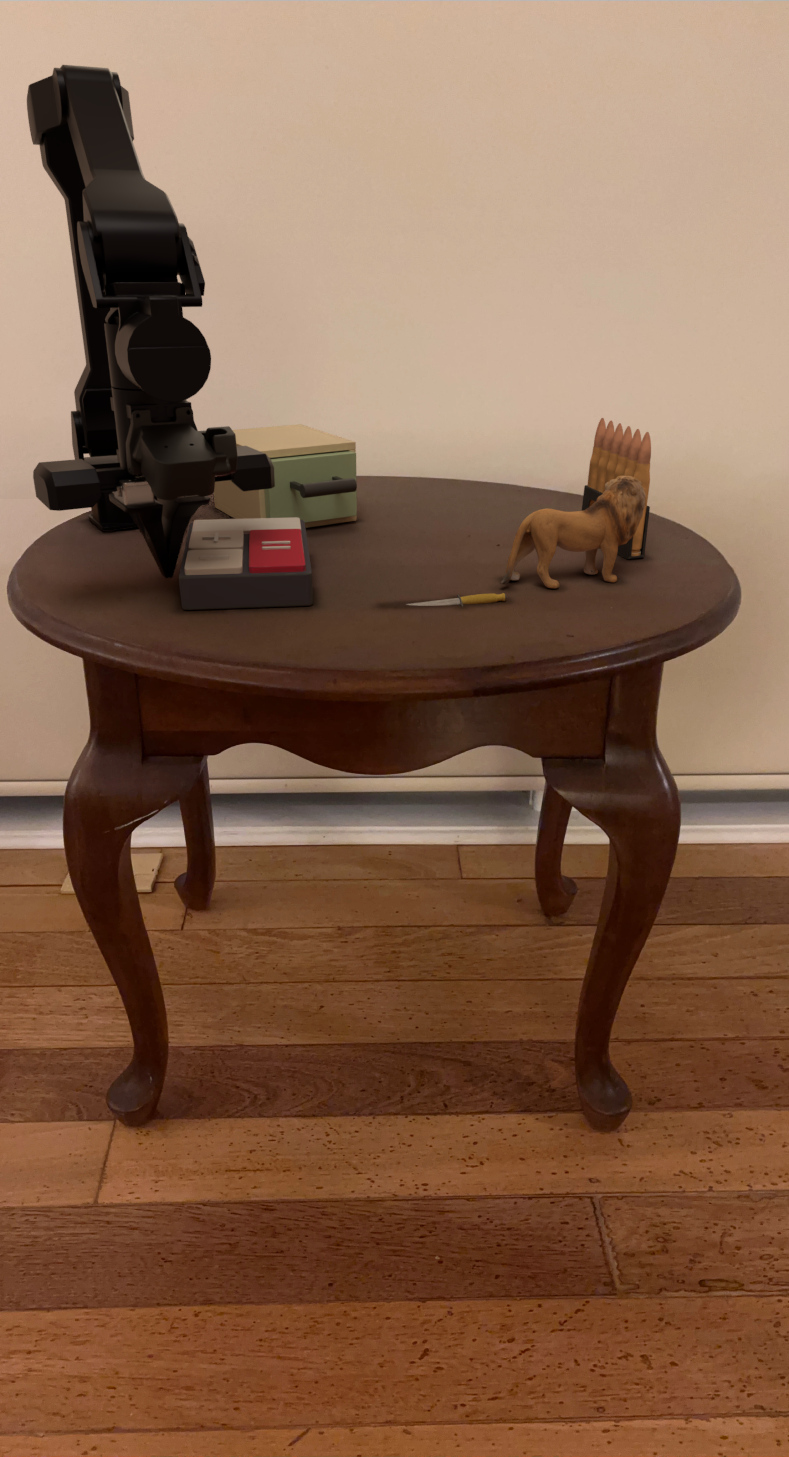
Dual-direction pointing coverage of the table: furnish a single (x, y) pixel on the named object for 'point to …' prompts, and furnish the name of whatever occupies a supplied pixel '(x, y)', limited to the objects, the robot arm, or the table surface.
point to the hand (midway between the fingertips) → (167, 576)
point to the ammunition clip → (620, 474)
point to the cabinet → (275, 445)
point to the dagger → (465, 600)
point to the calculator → (246, 564)
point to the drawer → (313, 487)
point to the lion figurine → (581, 531)
